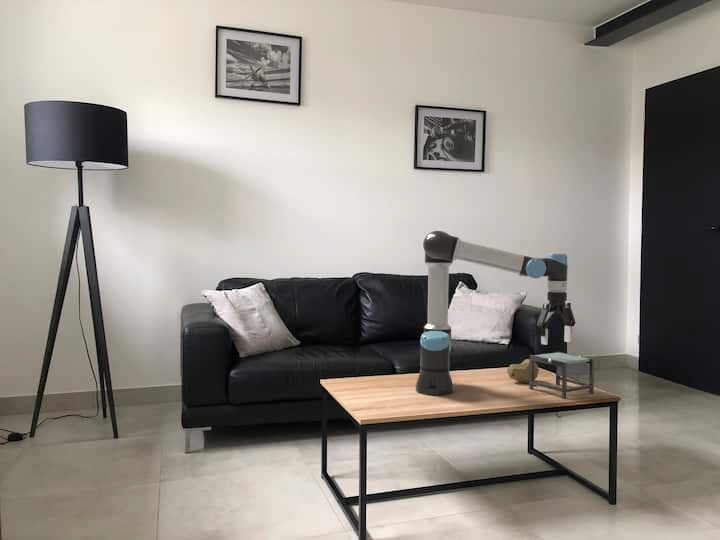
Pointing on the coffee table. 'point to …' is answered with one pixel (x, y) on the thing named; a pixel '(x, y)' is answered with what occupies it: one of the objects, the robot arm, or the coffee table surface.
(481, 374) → the coffee table surface
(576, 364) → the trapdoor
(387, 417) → the coffee table surface
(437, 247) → the robot arm
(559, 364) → the stand
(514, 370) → the low-poly potato
